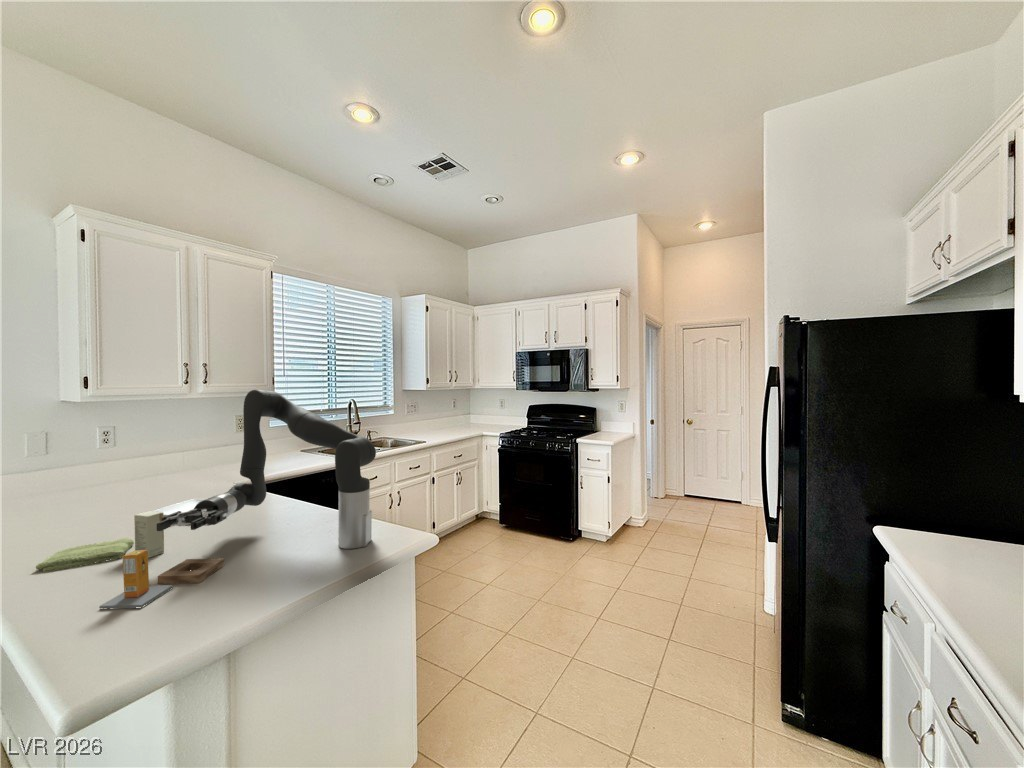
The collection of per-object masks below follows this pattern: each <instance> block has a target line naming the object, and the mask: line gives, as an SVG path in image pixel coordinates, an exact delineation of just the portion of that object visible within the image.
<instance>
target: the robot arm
mask: <svg viewBox="0 0 1024 768" xmlns="http://www.w3.org/2000/svg"><path fill="white" fill-rule="evenodd" d="M242 412H243V451H242V457H241V463H240V468H239V469H240V470H239V473H240V476H242V477H243V478H246V479H249V480H250V483H244V482H243V483H236V484H234V485H233V486H232V487H231V488H229V490H228V491H226V492H224V493H219V494H216V495H214V496H211V497H208V498H205V499H206V500H203V501H201V502H199V503H198V504H197V505H196V506H195V508H194V509H192V510H189V511H187V512H182V513H181V511H178V512H175V513H172V514H170V515H167V516H164V517H162V521H161V522H159V523H157V531H162V530H166V529H169V528H171V527H175V526H178V527H182V526H183V527H184V526H187V525H190V530H191V531H195V530H198V529H199V528H201V527H203V526H204V527H207V526H208V527H209V526H215V525H217V524H220V523H221V522H222V521H224V520H227V517H229V516H231V515H233V514H234V513H237V512H238V511H240V510H242V509H243V508H244V507H245V506H252V507H257V506H260V505H261V504H262V503H263V502H264V501H265V499H266V496H267V486H266V479H265V466H266V461H267V448H266V444H265V442H264V439H263V436H262V431H261V428H260V427H261V426H260V425H261V419H262V417H264V418H265V417H266V418H274V419H277V420H279V421H281V422H283V423H285V424H286V425H287V428H288V430H289V431H290V432H291V434H292V435H294V436H295V437H297V438H298V439H300V440H302V441H304V442H306V443H308V444H310V445H311V444H312V445H314V446H318V447H323V448H329V449H334V450H335V453H334V464H335V465H334V466H335V480H336V483H337V486H338V539H337V540H338V547H339V548H341V549H346V550H350V549H351V550H352V549H358V548H363V547H367V546H368V544H369V543H370V542H371V541H372V530H373V529H372V527H373V526H372V511H373V510H371V508H370V507H371V506H370V505H371V504H370V503H371V502H370V497H371V496H370V495H371V492H370V490H371V489H370V487H371V485H370V484H371V483H370V482H371V481H370V479H369V478H367V477H363V476H362V474H361V473H362V472H361V467H364V466H367V465H369V464H371V463H372V462H373V461H374V460H375V459H376V455H377V451H376V446H375V445H374V443H373V442H372V441H371V440H369V439H368V438H366V437H365V436H361V435H359V434H356V433H353V432H351V431H349V430H346V429H343V428H341V427H340V426H339V425H336V424H335V423H333V422H330V421H329V420H326V419H325V418H323V417H321V416H320V415H318V414H317V413H314V412H312V411H310V410H308V409H306V408H304V407H301V406H299V405H297V404H295V403H293V401H290V400H289V399H288V398H286V397H285V396H284V395H282V394H281V393H279V392H277V391H274V390H265V389H252V390H250V391H248V392H247V394H246V395H245V397H244V401H243V410H242ZM182 518H184V520H185V521H182Z"/></svg>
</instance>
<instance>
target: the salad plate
mask: <svg viewBox="0 0 1024 768" xmlns="http://www.w3.org/2000/svg"><path fill="white" fill-rule="evenodd" d="M206 499H207V498H192V499H188V500H183V501H180V502H178V503H173V504H170V505H167V506H163V507H160V508H158V509H155V510H153V511H156V512H163V517H164V516H167V515H170V514H172V513H175V512H178V511H181V513H182V512H187V511H189V510H192V509H194V508H195V506H196V505H197V504H198V503H199V502H201V501H203V500H206ZM182 522H185V520H184V518H182Z"/></svg>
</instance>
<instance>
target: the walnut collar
mask: <svg viewBox="0 0 1024 768" xmlns="http://www.w3.org/2000/svg"><path fill="white" fill-rule="evenodd" d="M224 566H225V558H224V557H223V558H218V557H217V558H186V559H184V560H183V561H181V562H179V563H178V564H176V565H175V566H173V567H171V568H169V569H168V570H166V571H164V572H162V573H160V574H158V575H157V585H168V584H167V583H178V584H200V583H201V582H202V581H204V580H205V579H207V578H208V577H210V576H211V575H213V574H214V573H215V571H216V572H217V571H219V570H220V569H221V568H223V567H224ZM190 570H193V571H190ZM212 573H213V574H212ZM162 583H164V584H162Z"/></svg>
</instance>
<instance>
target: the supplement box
mask: <svg viewBox="0 0 1024 768" xmlns="http://www.w3.org/2000/svg"><path fill="white" fill-rule="evenodd" d="M122 571H123V573H122V575H123V592H124V598H134V597H139V596H141V595H142V594H144V593H145V592H147V591H148V590H149V586H150V583H149V582H150V580H149V579H150V578H149V558H148V551H147V550H137V551H135V550H133V551H130V552H129V553H126V554H124V556H123V557H122Z"/></svg>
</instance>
